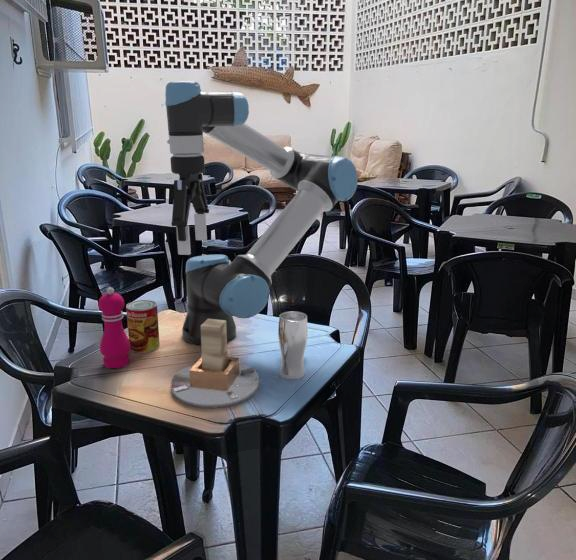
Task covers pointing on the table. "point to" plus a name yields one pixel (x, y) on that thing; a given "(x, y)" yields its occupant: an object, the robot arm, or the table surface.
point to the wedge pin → (214, 345)
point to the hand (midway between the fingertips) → (193, 246)
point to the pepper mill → (113, 331)
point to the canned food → (143, 326)
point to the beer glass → (292, 343)
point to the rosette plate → (215, 385)
